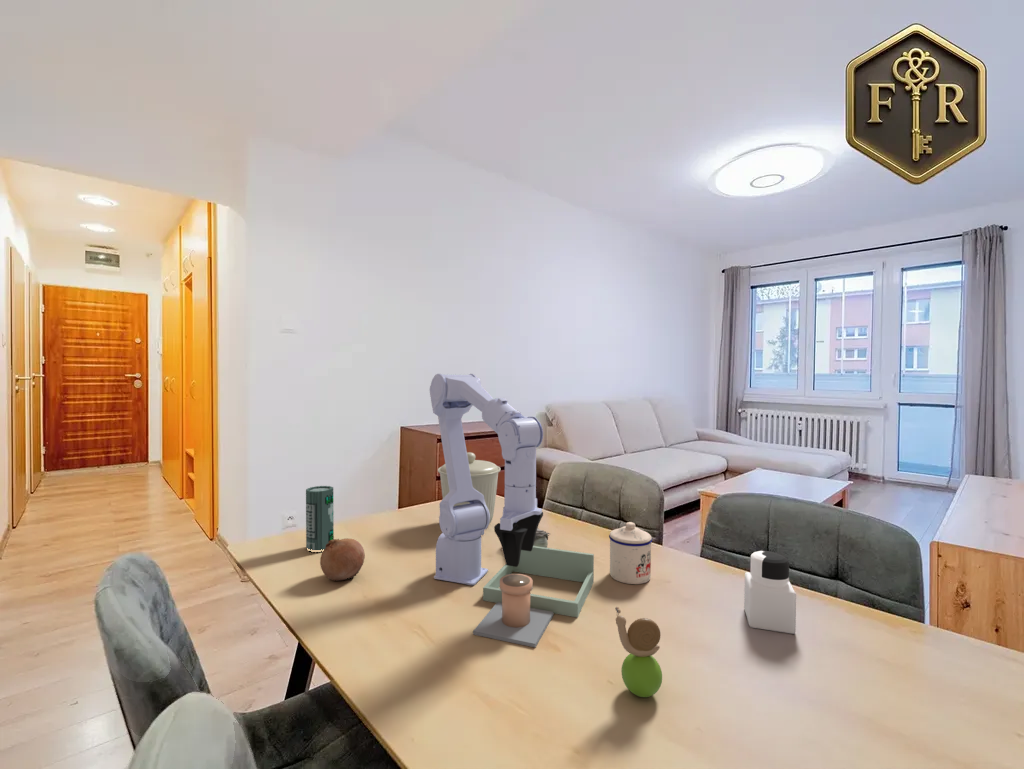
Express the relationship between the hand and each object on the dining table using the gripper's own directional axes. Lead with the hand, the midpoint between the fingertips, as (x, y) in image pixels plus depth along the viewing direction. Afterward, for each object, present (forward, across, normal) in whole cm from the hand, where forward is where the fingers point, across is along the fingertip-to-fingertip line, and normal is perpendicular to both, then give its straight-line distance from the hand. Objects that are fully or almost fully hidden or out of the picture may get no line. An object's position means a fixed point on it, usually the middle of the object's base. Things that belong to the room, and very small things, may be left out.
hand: (519, 557), depth 88 cm
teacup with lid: (+10, +25, -17) cm, 32 cm away
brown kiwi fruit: (+11, 0, +40) cm, 42 cm away
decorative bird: (+11, +28, +7) cm, 31 cm away
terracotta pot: (+10, -4, -1) cm, 10 cm away
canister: (+11, +43, +31) cm, 54 cm away
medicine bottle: (+10, +13, -42) cm, 46 cm away
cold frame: (+10, +10, -1) cm, 14 cm away
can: (+11, +12, +58) cm, 60 cm away
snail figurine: (+10, -15, -23) cm, 29 cm away
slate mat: (+10, -4, -1) cm, 11 cm away
